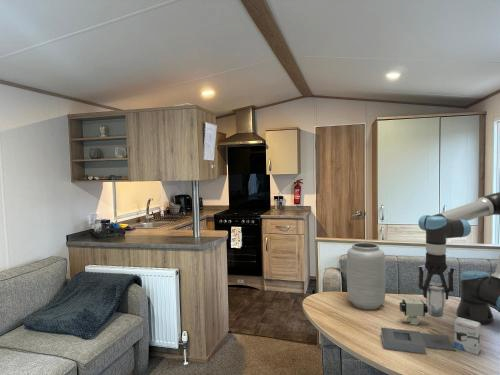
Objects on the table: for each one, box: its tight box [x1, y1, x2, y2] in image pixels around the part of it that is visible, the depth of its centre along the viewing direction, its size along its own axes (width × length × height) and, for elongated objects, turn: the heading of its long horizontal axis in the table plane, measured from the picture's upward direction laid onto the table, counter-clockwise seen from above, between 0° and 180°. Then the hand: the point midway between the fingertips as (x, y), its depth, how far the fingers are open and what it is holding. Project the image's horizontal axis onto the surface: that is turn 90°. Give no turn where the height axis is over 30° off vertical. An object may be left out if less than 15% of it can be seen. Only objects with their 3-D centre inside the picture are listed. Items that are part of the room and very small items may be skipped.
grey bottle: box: [427, 281, 445, 318], centre depth 142 cm, size 7×7×13 cm
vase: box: [346, 241, 386, 310], centre depth 184 cm, size 20×20×34 cm
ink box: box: [453, 316, 482, 356], centre depth 137 cm, size 8×5×12 cm, turn 44°
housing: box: [380, 327, 427, 355], centre depth 142 cm, size 16×12×4 cm
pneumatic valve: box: [399, 298, 428, 326], centre depth 161 cm, size 6×12×12 cm, turn 78°
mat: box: [420, 332, 456, 352], centre depth 143 cm, size 12×12×1 cm
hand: (435, 305), depth 142 cm, fingers closed on grey bottle, 6 cm apart
